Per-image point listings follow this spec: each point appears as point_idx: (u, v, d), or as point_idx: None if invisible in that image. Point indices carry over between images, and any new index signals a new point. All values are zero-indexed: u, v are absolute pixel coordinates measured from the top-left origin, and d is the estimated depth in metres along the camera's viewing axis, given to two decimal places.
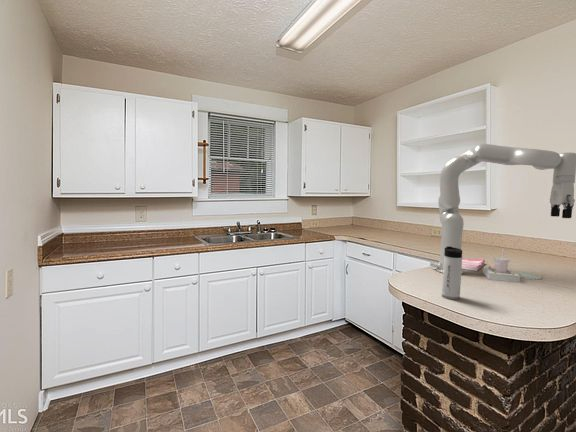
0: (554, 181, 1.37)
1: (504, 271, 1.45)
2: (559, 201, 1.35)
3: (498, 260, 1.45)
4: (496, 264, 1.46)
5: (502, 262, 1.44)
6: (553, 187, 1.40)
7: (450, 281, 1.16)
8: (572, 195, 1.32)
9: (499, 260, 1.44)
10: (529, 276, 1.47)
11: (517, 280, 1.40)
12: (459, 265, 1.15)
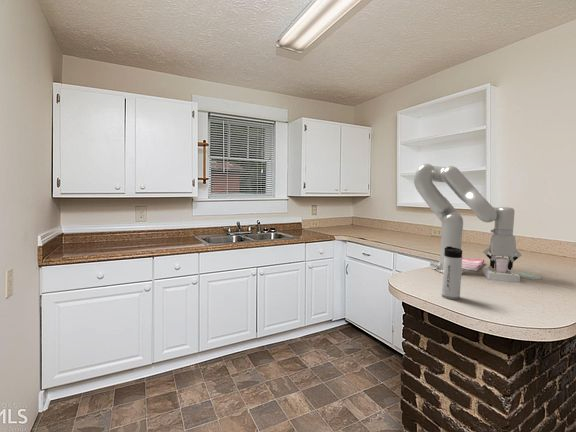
0: (506, 234, 1.42)
1: (504, 271, 1.45)
2: (513, 253, 1.42)
3: (498, 260, 1.45)
4: (496, 264, 1.46)
5: (502, 262, 1.44)
6: (499, 239, 1.44)
7: (450, 281, 1.16)
8: None
9: (499, 260, 1.44)
10: (529, 276, 1.47)
11: (517, 280, 1.40)
12: (459, 265, 1.15)
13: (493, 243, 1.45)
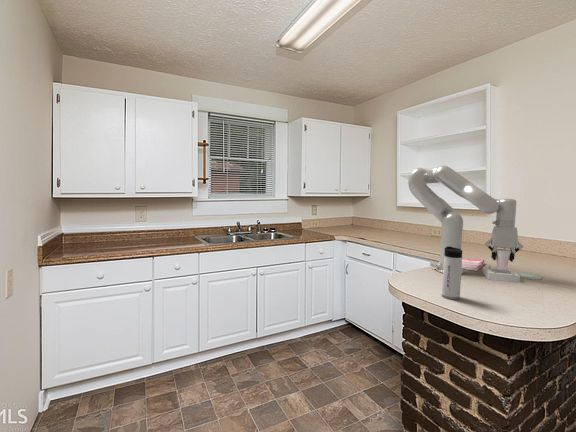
0: (508, 226, 1.41)
1: (506, 263, 1.44)
2: (515, 245, 1.42)
3: (500, 252, 1.44)
4: (498, 256, 1.46)
5: (504, 254, 1.43)
6: (500, 231, 1.43)
7: (450, 281, 1.16)
8: None
9: (501, 252, 1.44)
10: (529, 276, 1.47)
11: (517, 280, 1.40)
12: (459, 265, 1.15)
13: (495, 235, 1.44)
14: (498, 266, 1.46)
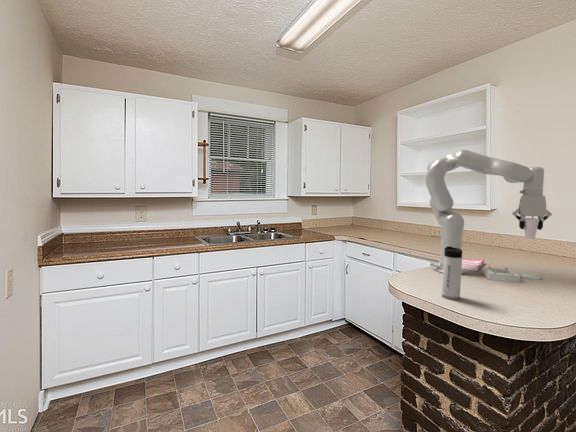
0: (537, 194, 1.42)
1: (534, 231, 1.45)
2: (544, 213, 1.42)
3: (528, 220, 1.45)
4: (526, 224, 1.46)
5: (532, 222, 1.44)
6: (528, 199, 1.44)
7: (450, 281, 1.16)
8: None
9: (529, 220, 1.45)
10: (529, 276, 1.47)
11: (517, 280, 1.40)
12: (459, 265, 1.15)
13: (523, 203, 1.45)
14: (526, 235, 1.47)
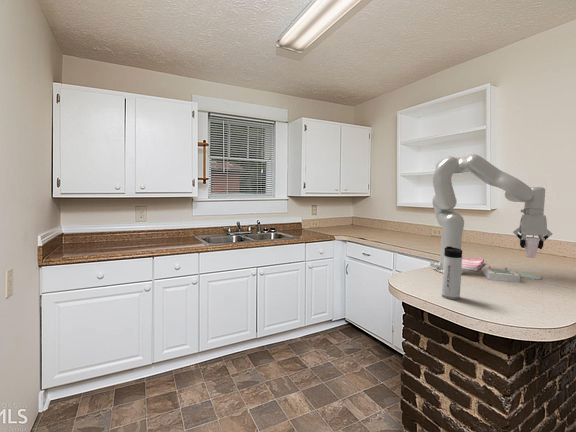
0: (538, 214, 1.43)
1: (535, 250, 1.46)
2: (544, 232, 1.43)
3: (529, 239, 1.46)
4: (527, 243, 1.48)
5: (533, 241, 1.45)
6: (529, 219, 1.45)
7: (450, 281, 1.16)
8: None
9: (530, 239, 1.46)
10: (529, 276, 1.47)
11: (517, 280, 1.40)
12: (459, 265, 1.15)
13: (524, 223, 1.46)
14: (527, 254, 1.48)
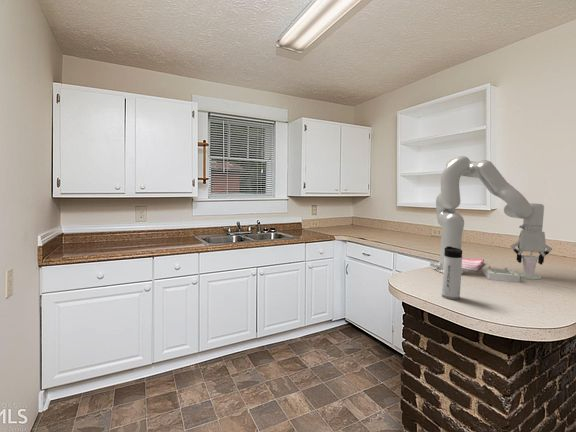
0: (536, 230, 1.44)
1: (533, 269, 1.47)
2: (543, 249, 1.44)
3: (527, 258, 1.47)
4: (525, 262, 1.48)
5: (531, 260, 1.46)
6: (528, 235, 1.46)
7: (450, 281, 1.16)
8: None
9: (528, 258, 1.47)
10: (529, 276, 1.47)
11: (517, 280, 1.40)
12: (459, 265, 1.15)
13: (522, 239, 1.47)
14: (525, 272, 1.49)
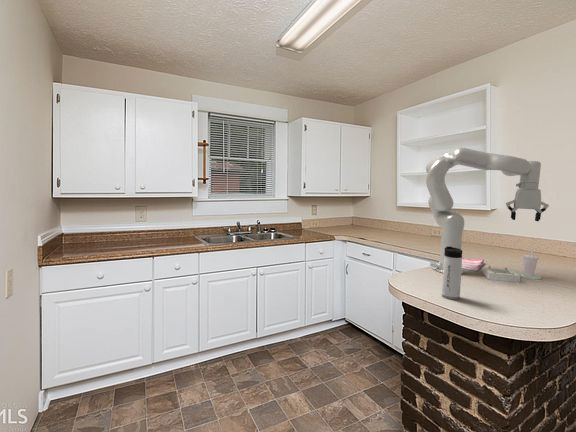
0: (532, 187, 1.45)
1: (533, 269, 1.47)
2: (538, 206, 1.45)
3: (527, 258, 1.47)
4: (525, 262, 1.48)
5: (531, 260, 1.46)
6: (524, 192, 1.47)
7: (450, 281, 1.16)
8: None
9: (528, 258, 1.47)
10: (529, 276, 1.47)
11: (517, 280, 1.40)
12: (459, 265, 1.15)
13: (518, 196, 1.48)
14: (525, 272, 1.49)
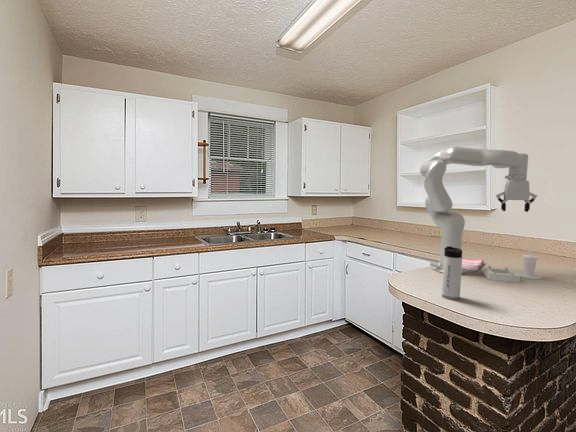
0: (521, 179, 1.49)
1: (533, 269, 1.47)
2: (527, 197, 1.50)
3: (526, 258, 1.47)
4: (524, 262, 1.48)
5: (531, 260, 1.46)
6: (513, 184, 1.52)
7: (450, 281, 1.16)
8: None
9: (527, 258, 1.47)
10: (529, 276, 1.47)
11: (517, 280, 1.40)
12: (459, 265, 1.15)
13: (507, 188, 1.53)
14: (525, 272, 1.49)
